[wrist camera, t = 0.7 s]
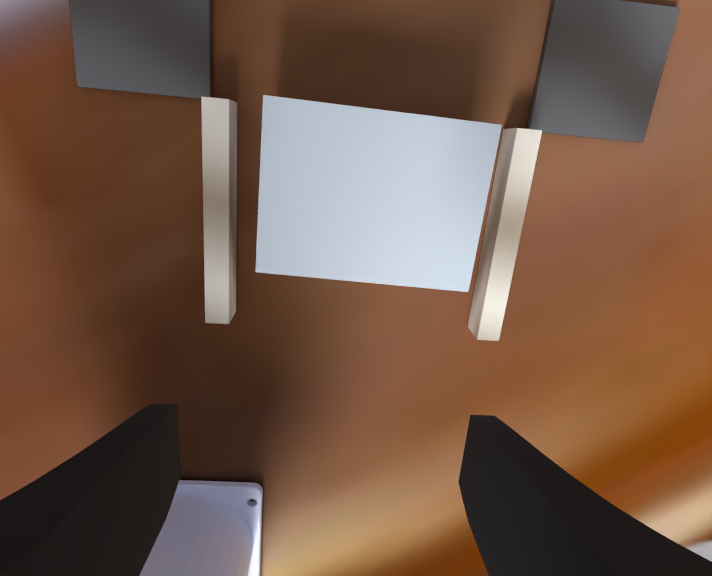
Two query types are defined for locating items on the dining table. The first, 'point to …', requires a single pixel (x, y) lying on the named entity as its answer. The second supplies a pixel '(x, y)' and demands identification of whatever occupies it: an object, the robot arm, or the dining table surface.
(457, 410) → the dining table surface
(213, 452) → the dining table surface
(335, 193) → the block
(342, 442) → the dining table surface
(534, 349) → the dining table surface
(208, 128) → the trap lane
